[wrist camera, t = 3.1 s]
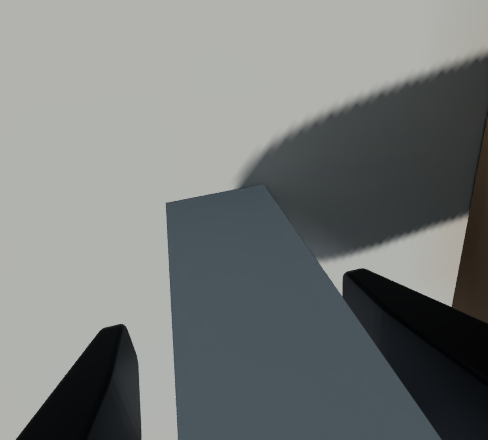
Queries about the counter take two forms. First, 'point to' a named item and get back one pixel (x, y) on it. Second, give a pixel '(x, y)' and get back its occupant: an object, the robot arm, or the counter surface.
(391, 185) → the counter surface
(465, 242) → the walnut board
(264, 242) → the slate block
